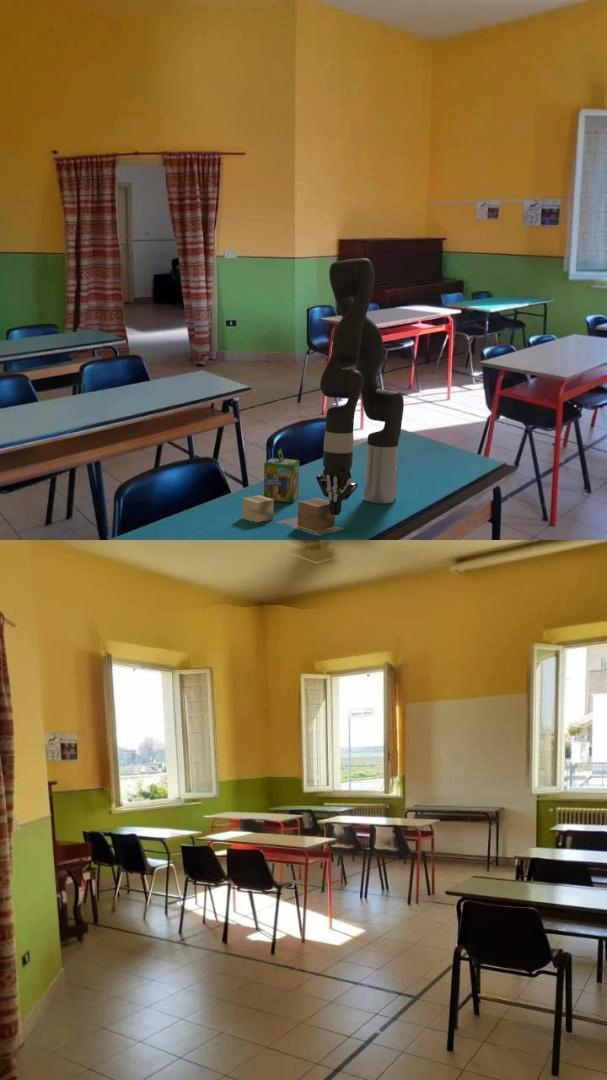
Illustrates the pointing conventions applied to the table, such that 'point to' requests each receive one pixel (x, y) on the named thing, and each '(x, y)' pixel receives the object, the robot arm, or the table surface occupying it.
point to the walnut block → (315, 515)
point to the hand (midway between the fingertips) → (334, 514)
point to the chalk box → (281, 479)
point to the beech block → (258, 508)
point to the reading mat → (294, 522)
